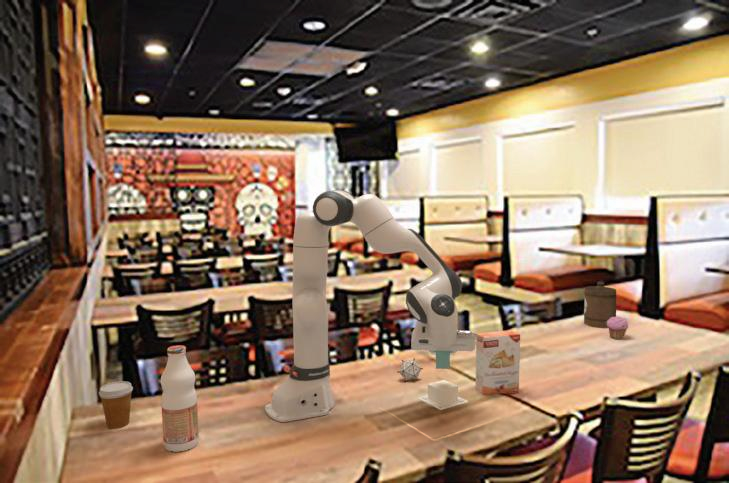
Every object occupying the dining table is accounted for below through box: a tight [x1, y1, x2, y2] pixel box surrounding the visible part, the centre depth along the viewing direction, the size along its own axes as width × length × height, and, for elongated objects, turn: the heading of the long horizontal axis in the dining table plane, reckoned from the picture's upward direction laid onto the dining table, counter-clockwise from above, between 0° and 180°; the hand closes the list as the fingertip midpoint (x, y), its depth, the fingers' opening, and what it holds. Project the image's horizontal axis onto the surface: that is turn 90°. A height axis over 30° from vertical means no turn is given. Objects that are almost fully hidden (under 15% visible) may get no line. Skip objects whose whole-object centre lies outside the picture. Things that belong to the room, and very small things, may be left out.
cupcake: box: [607, 316, 629, 340], centre depth 250 cm, size 9×9×10 cm
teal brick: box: [435, 350, 451, 370], centre depth 178 cm, size 4×4×8 cm
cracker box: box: [475, 329, 521, 396], centre depth 187 cm, size 14×6×21 cm, turn 105°
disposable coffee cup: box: [98, 381, 134, 429], centre depth 167 cm, size 10×10×12 cm
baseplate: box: [417, 394, 470, 411], centre depth 180 cm, size 12×12×1 cm
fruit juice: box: [160, 344, 200, 453], centre depth 152 cm, size 9×9×28 cm
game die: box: [396, 357, 424, 383], centre depth 200 cm, size 9×8×10 cm
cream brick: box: [427, 379, 459, 405], centre depth 180 cm, size 7×7×5 cm
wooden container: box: [583, 280, 617, 329], centre depth 274 cm, size 15×15×22 cm
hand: (442, 352), depth 179 cm, fingers closed on teal brick, 4 cm apart
